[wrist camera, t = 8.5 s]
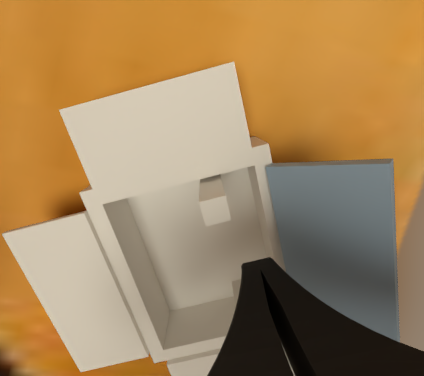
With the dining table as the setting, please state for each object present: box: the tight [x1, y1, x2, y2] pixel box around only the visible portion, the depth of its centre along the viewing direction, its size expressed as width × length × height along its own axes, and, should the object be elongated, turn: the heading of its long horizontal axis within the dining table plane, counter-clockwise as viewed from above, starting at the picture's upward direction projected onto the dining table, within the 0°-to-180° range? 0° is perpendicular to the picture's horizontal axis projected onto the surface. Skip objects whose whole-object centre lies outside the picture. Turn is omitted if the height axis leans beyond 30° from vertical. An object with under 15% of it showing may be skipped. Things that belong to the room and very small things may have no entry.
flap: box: [266, 159, 400, 342], centre depth 11 cm, size 9×4×1 cm
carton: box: [2, 62, 295, 376], centre depth 13 cm, size 18×13×6 cm
